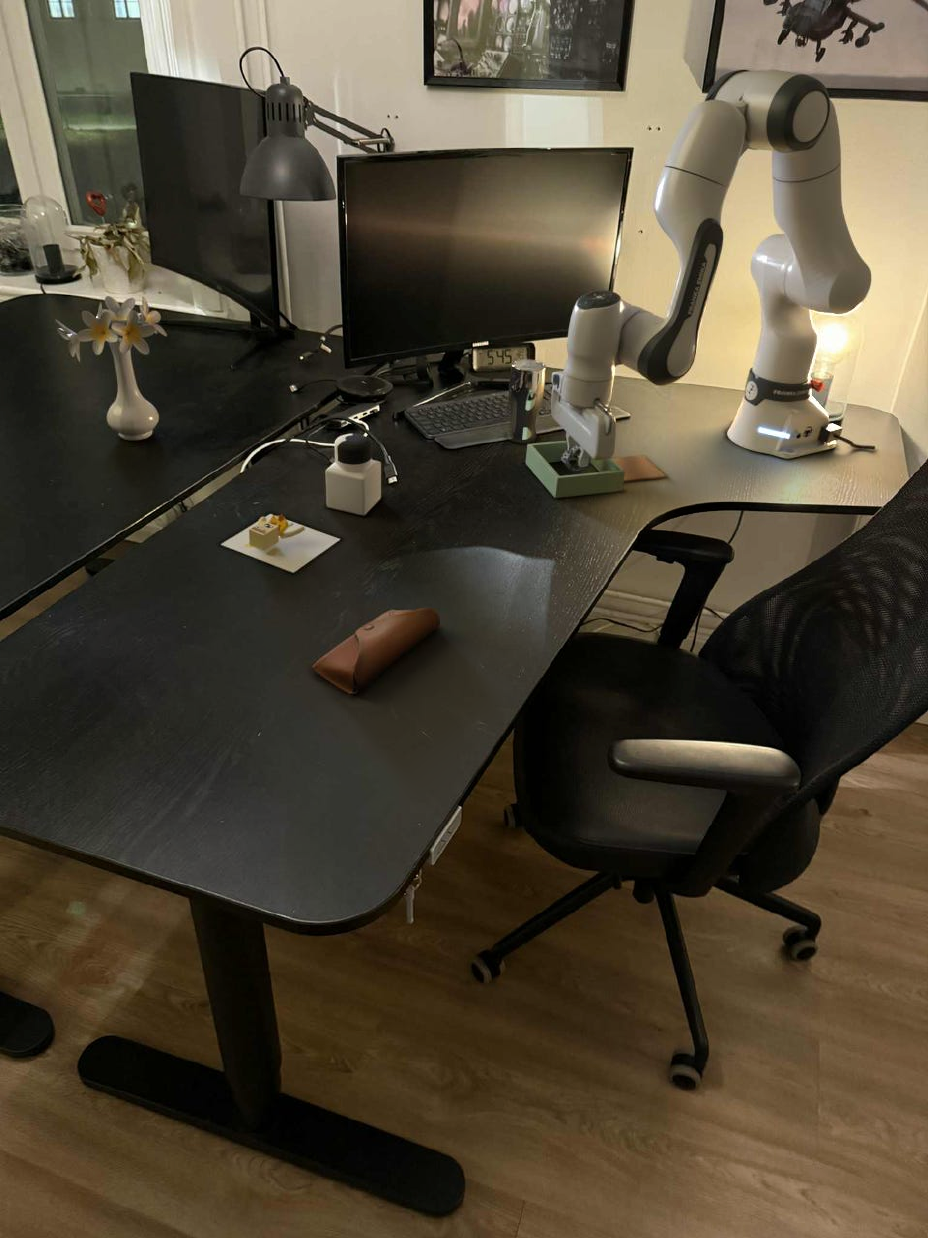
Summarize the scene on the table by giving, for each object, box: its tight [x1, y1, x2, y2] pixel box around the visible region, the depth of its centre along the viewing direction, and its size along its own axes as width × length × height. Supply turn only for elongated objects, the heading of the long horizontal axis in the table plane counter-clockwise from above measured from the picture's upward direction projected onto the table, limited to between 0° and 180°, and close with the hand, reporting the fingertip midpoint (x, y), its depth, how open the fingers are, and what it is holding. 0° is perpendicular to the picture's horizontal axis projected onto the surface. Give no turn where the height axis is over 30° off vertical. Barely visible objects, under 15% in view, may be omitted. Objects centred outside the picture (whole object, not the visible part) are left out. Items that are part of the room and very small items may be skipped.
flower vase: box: [55, 295, 168, 442], centre depth 158 cm, size 13×18×25 cm
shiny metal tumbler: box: [506, 358, 547, 444], centre depth 171 cm, size 7×7×15 cm
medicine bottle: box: [325, 433, 382, 517], centre depth 145 cm, size 7×7×12 cm
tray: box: [525, 440, 625, 499], centre depth 161 cm, size 13×14×4 cm
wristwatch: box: [561, 444, 592, 473], centre depth 160 cm, size 3×5×5 cm
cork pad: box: [612, 455, 666, 483], centre depth 166 cm, size 9×9×1 cm
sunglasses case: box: [312, 607, 441, 695], centre depth 115 cm, size 18×7×7 cm
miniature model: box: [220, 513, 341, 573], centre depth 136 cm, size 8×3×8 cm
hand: (577, 460), depth 160 cm, fingers closed on wristwatch, 2 cm apart
